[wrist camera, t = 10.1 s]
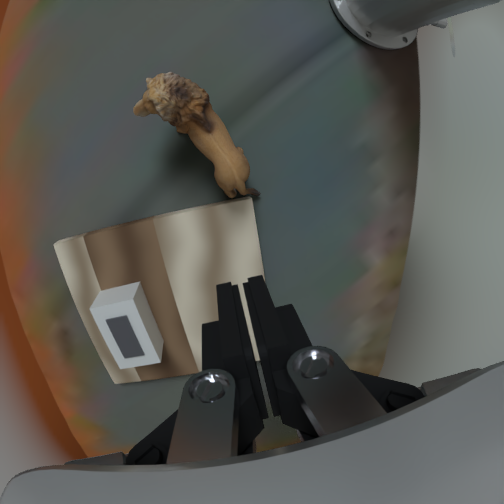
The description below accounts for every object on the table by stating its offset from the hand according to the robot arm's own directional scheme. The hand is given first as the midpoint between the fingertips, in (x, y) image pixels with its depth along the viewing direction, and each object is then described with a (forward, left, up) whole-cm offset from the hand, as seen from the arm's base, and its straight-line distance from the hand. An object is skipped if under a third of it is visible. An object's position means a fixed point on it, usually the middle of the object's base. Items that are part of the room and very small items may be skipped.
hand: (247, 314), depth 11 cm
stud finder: (+12, +10, -20) cm, 25 cm away
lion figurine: (0, -7, -22) cm, 23 cm away
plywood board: (+7, +10, -22) cm, 25 cm away
